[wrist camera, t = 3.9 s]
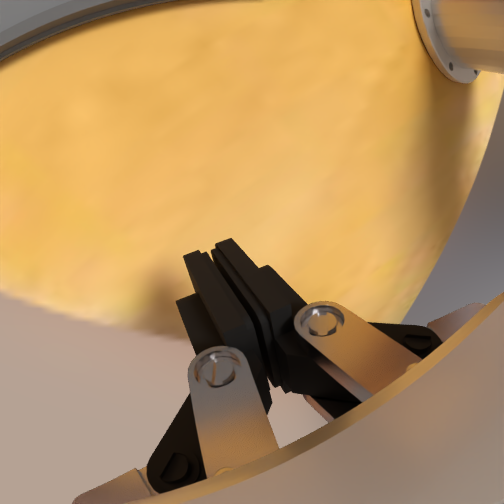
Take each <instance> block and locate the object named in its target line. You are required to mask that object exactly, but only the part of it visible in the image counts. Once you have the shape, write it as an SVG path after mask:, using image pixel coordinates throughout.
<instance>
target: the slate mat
mask: <svg viewBox="0 0 504 504" xmlns="http://www.w3.org/2000/svg"><path fill="white" fill-rule="evenodd" d="M170 1H176V0H0V61H2V60H3V59H5V58H7V57H9V56H11V55H13V54H15V53H17V52H19V51H20V50H22V49H25V48H27V47H29V46H31V45H33V44H35V43H37V42H39V41H42V40H44V39H46V38H48V37H51V36H53V35H56V34H58V33H61V32H63V31H66V30H68V29H71V28H74V27H76V26H79V25H82V24H85V23H88V22H91V21H94V20H97V19H100V18H103V17H106V16H110V15H113V14H117V13H121V12H124V11H128V10H132V9H136V8H140V7H145V6H149V5H154V4H159V3H164V2H170Z"/></svg>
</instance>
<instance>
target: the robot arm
mask: <svg viewBox="0 0 504 504" xmlns="http://www.w3.org/2000/svg"><path fill="white" fill-rule="evenodd" d="M412 5H413V11H414V16H415V20H416V23H417V27H418V30H419V33H420V35H421V38H422V41H423V43H424V45H425V47H426V49H427V51H428V53H429V55H430V57H431V58H432V60H433V62H434V63H435V65H436V66H437V67H438V69H439V70H440V71H441V72H442V73H443V74H444V75H445V76H446V77H447V78H449V79H450V80H452V81H454V82H458V83H470V82H473V81H474V80H475V79H476V78H477V76H478V75H479V73H480V71H488V72H495V73H501V74H504V0H412ZM215 247H216V248H215V249H212V250H211V254H212V258H213V261H214V262H213V261H212V259H211V258H210V256H209V255H208V253H207V252H204V253H200V251H199V250H197V251H194V252H192V253H189V254H186V255H184V256H183V258H184V261H185V264H186V267H187V270H188V272H189V275H190V278H191V281H192V284H193V287H194V289H195V292H196V293H195V294H192V295H190V296H187V297H185V298H182V299H180V300H177V301H176V304H177V306H178V309H179V312H180V315H181V317H182V320H183V323H184V325H185V328H186V331H187V333H188V336H189V338H190V341H191V343H192V346H193V348H194V351H195V353H196V357H195V358H194V359H193V360H192V362H191V363H190V366H189V368H188V382H189V388H190V394H189V395H188V397H187V399H186V400H185V402H184V403H183V405H182V407H181V408H180V410H179V412H178V414H177V415H176V417H175V418H174V420H173V422H172V423H171V425H170V426H169V428H168V430H167V431H166V433H165V435H164V436H163V438H162V439H161V441H160V443H159V445H158V446H157V448H156V449H155V451H154V453H153V454H152V456H151V457H150V459H149V462H148V464H147V466H146V467H144V468H142V469H140V470H137V469H136V468H134V469H133V470H130V471H129V472H127V473H125V474H123V475H121V476H119V477H117V478H115V479H113V480H111V481H109V482H107V483H104V484H102V485H100V486H98V487H96V488H94V489H92V490H89V491H87V492H85V493H83V494H81V495H79V496H78V497H76V498H75V500H74V501H73V503H72V504H504V292H503V293H501V294H500V295H498V296H497V297H496V298H494V299H493V300H492V301H491V302H489V303H488V304H487V305H484V304H482V303H472V304H468V305H467V306H465V307H463V308H460V309H458V310H456V311H454V312H452V313H450V314H448V315H445V316H443V317H441V318H439V319H436V320H434V321H432V322H429V323H428V325H427V327H423V326H417V325H402V324H386V323H372V322H366V321H364V320H363V319H361V318H360V317H358V316H357V315H355V314H354V313H352V312H351V311H349V310H348V309H346V308H345V307H343V306H341V305H339V304H337V303H334V302H329V301H319V302H315V303H311V304H309V305H308V304H307V303H306V302H305V301H304V300H303V299H302V298H301V297H300V296H299V295H298V294H297V293H296V292H295V291H294V290H293V289H292V288H291V287H290V286H289V285H288V284H287V283H286V282H285V281H284V280H283V279H282V278H281V277H280V276H279V275H278V274H277V273H276V271H275V270H274V269H273V268H272V267H270V266H269V265H266V266H263V267H261V268H258V267H257V266H256V265H255V264H254V262H253V261H252V260H251V259H250V258H249V257H248V256H247V255H246V254H245V252H244V251H243V250H242V249H241V248H240V247H239V246H238V245H237V244H236V242H235V241H234V240H233V239H232V238H229V239H227V240H224V241H221V242H219V243H216V244H215ZM267 377H268V379H269V380H270V382H271V383H272V385H273V386H274V387H275V388H276V387H278V386H281V388H282V389H283V391H284V392H285V394H286V393H288V392H290V391H292V392H293V393H297V394H303V397H304V398H305V400H306V401H307V402H308V403H309V404H310V405H311V406H312V407H313V408H314V409H315V410H316V411H317V412H318V413H319V414H320V415H321V416H322V417H324V419H325V420H326V421H328V422H329V423H328V424H326V425H325V426H323V427H321V428H319V429H317V430H316V431H314V432H312V433H310V434H308V435H306V436H304V437H302V438H300V439H298V440H297V441H295V442H293V443H291V444H289V445H287V446H285V447H283V448H281V449H279V447H278V444H277V442H276V439H275V436H274V433H273V431H272V428H271V425H270V423H269V420H268V417H267V414H268V412H269V409H270V407H271V404H272V399H271V395H270V392H269V391H270V387H269V383H268V379H267Z"/></svg>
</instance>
